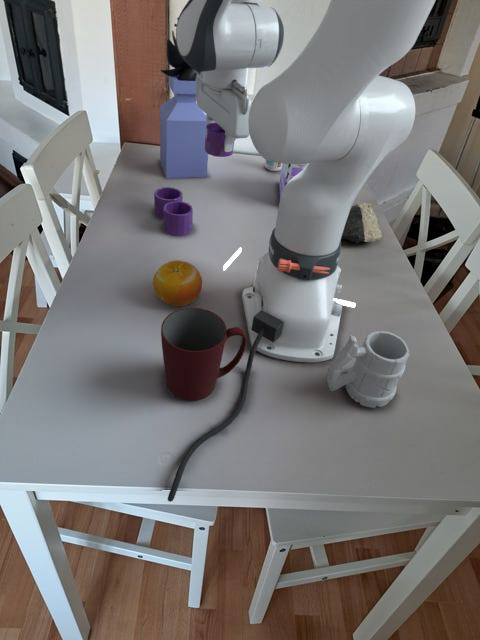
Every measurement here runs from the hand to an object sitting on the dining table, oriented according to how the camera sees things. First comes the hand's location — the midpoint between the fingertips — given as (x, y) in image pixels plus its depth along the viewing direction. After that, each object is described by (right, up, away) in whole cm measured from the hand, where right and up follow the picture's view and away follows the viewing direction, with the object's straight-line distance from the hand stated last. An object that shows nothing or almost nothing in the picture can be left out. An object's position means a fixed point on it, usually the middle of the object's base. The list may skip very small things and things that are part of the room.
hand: (219, 143), depth 101 cm
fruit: (-7, -34, -15) cm, 38 cm away
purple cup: (-12, -14, +7) cm, 19 cm away
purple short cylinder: (0, -1, +1) cm, 2 cm away
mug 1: (-2, -48, -30) cm, 56 cm away
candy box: (+17, -6, +20) cm, 27 cm away
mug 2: (+22, -49, -28) cm, 61 cm away
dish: (-9, -18, +3) cm, 20 cm away
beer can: (+14, +5, +32) cm, 35 cm away
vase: (-11, +3, +26) cm, 28 cm away
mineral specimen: (+28, -18, +8) cm, 35 cm away
